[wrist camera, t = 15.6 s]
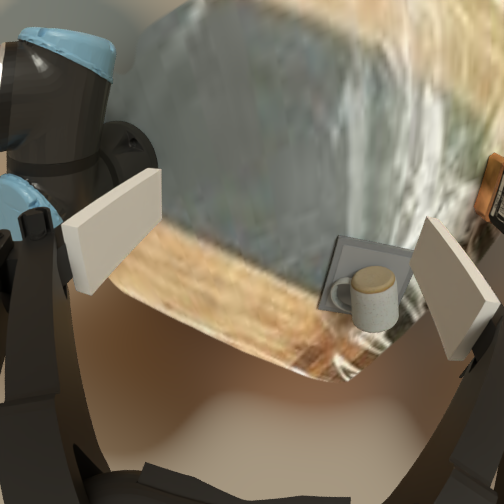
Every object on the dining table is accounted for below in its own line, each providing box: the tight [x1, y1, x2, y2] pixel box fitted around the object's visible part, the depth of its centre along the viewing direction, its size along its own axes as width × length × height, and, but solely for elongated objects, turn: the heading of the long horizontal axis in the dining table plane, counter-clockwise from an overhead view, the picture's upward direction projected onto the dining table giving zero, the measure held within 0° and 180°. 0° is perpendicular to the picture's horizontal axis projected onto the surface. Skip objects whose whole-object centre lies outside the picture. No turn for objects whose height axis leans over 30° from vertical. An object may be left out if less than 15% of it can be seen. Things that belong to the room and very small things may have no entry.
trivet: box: [318, 235, 414, 315], centre depth 48 cm, size 14×14×1 cm
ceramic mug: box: [330, 266, 399, 333], centre depth 44 cm, size 11×8×8 cm
